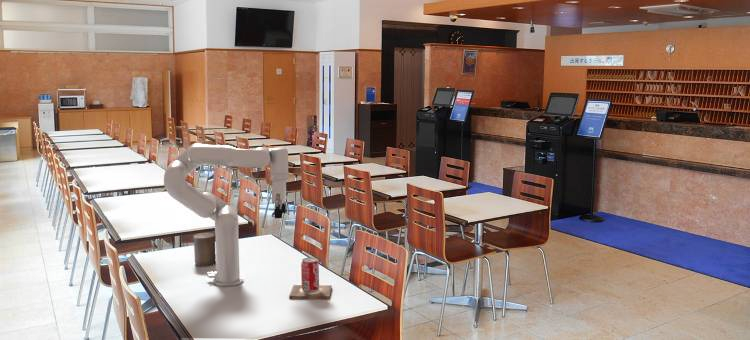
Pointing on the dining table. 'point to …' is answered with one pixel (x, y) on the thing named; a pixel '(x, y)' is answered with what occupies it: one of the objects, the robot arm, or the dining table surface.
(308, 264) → the soda can
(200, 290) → the dining table surface
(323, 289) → the board
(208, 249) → the pillar candle
